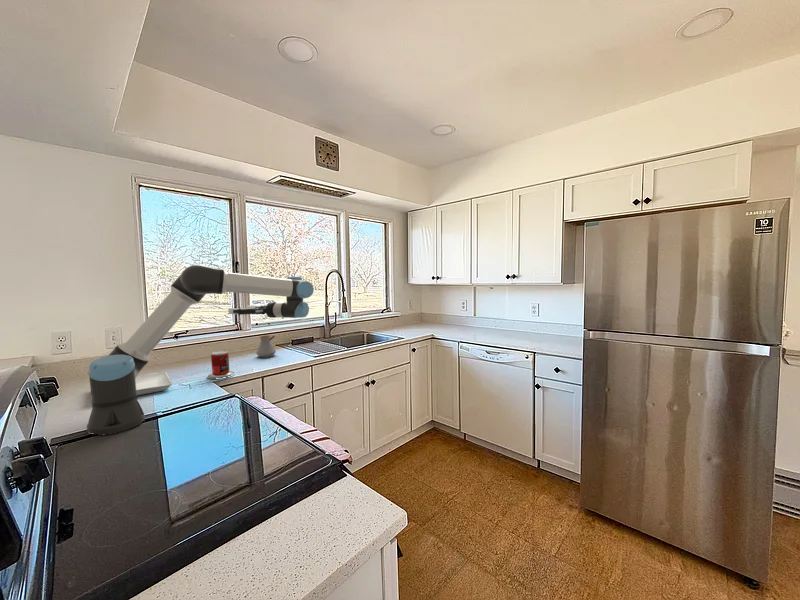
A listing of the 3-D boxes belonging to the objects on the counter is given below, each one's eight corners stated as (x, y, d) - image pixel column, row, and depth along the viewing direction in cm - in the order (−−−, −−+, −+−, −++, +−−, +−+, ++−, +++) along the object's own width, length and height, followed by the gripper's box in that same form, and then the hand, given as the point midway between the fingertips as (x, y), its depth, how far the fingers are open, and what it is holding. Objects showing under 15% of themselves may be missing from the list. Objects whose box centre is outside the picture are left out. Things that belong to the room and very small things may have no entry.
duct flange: (222, 380, 166) (222, 377, 166) (202, 378, 168) (201, 376, 168) (239, 373, 177) (239, 370, 177) (220, 372, 180) (219, 369, 180)
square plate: (94, 390, 155) (93, 382, 155) (166, 378, 172) (166, 370, 172) (91, 407, 134) (90, 398, 134) (173, 391, 152) (172, 382, 151)
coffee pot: (253, 356, 215) (252, 333, 214) (271, 353, 222) (270, 330, 221) (266, 362, 199) (264, 337, 198) (285, 358, 206) (283, 334, 205)
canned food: (222, 376, 168) (221, 354, 167) (208, 375, 170) (207, 353, 169) (233, 371, 176) (231, 350, 175) (219, 371, 177) (218, 350, 176)
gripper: (261, 321, 151) (220, 320, 156) (291, 314, 175) (255, 314, 180) (260, 304, 150) (219, 304, 155) (290, 300, 174) (254, 300, 179)
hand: (238, 309), depth 167 cm, fingers open, 13 cm apart
